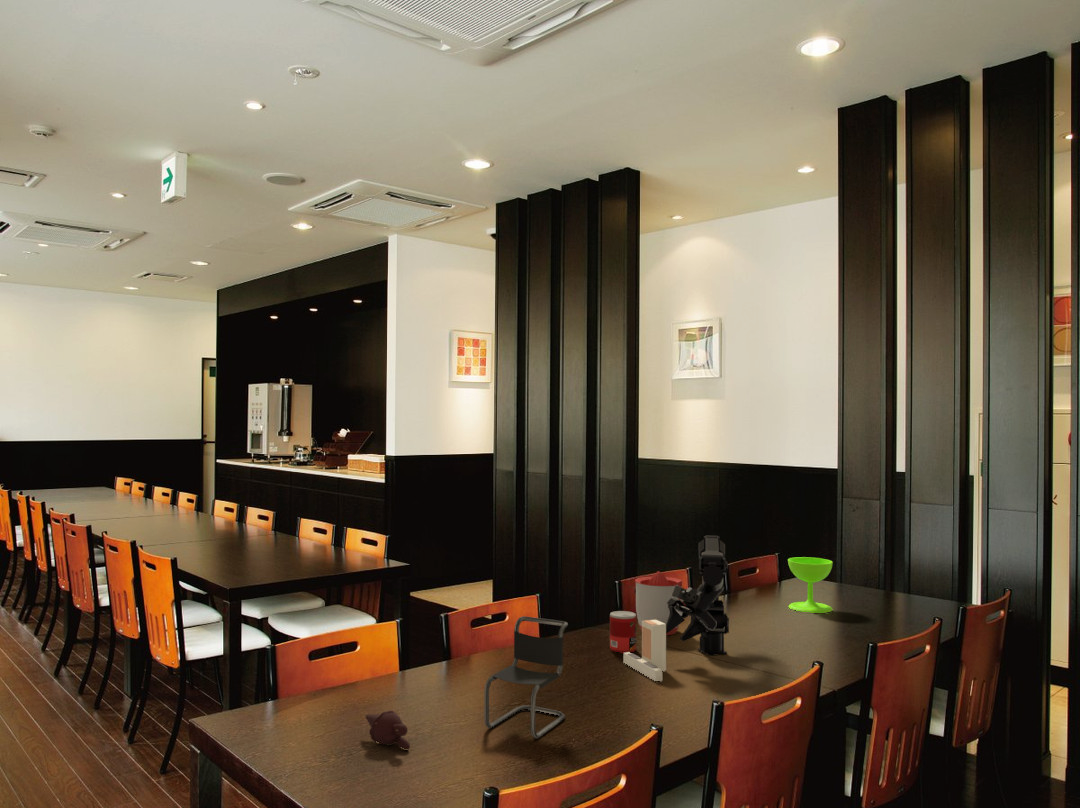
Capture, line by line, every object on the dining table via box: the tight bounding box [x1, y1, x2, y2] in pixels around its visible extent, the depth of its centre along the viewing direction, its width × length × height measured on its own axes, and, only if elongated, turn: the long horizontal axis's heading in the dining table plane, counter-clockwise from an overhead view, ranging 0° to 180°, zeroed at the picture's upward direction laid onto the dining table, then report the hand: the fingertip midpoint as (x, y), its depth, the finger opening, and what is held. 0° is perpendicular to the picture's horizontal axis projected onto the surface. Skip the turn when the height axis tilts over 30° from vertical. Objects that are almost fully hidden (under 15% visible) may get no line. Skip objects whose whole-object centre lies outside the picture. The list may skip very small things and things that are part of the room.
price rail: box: [622, 652, 663, 682], centre depth 218 cm, size 2×18×3 cm, turn 22°
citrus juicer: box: [634, 570, 683, 636], centre depth 261 cm, size 16×17×20 cm
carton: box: [641, 620, 667, 672], centre depth 221 cm, size 5×6×13 cm
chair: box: [483, 615, 569, 739], centre depth 180 cm, size 13×17×22 cm
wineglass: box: [787, 556, 834, 613], centre depth 296 cm, size 16×16×18 cm
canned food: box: [609, 610, 637, 654], centre depth 239 cm, size 8×8×11 cm
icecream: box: [365, 710, 411, 750], centre depth 168 cm, size 7×7×15 cm
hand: (673, 636), depth 224 cm, fingers open, 9 cm apart
